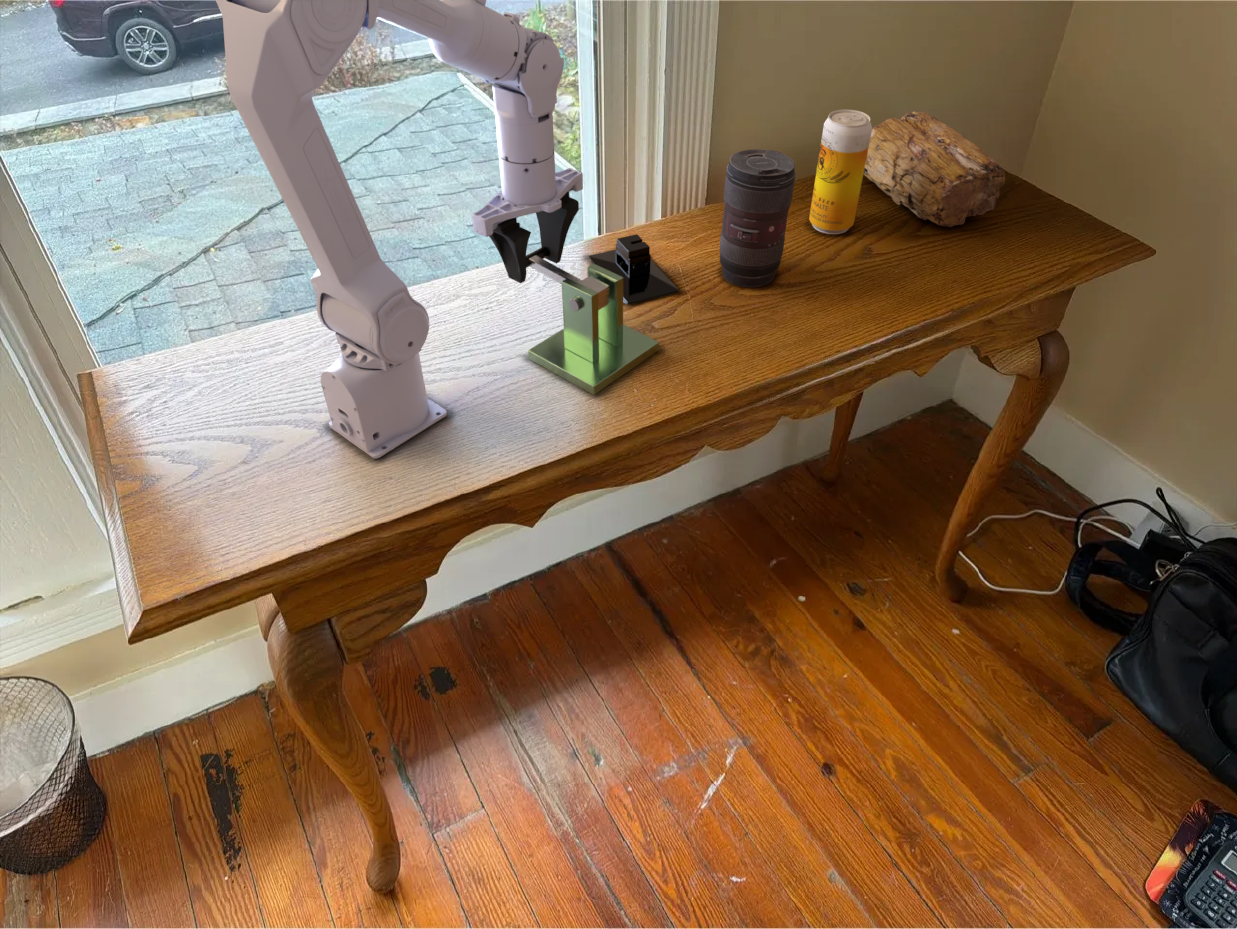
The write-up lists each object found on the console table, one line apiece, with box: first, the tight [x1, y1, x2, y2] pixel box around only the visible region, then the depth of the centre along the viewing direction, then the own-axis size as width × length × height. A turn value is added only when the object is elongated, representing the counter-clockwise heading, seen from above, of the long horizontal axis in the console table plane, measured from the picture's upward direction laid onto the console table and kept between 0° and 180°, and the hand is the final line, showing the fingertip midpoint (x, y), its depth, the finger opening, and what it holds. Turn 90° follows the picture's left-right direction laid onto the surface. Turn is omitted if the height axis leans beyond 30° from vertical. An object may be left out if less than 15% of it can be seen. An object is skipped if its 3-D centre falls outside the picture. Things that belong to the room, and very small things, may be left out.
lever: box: [526, 246, 609, 310], centre depth 99 cm, size 12×5×2 cm, turn 49°
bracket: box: [527, 263, 660, 396], centre depth 99 cm, size 10×11×10 cm
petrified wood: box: [863, 110, 1006, 228], centre depth 127 cm, size 19×13×10 cm
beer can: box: [808, 108, 873, 235], centre depth 120 cm, size 6×6×15 cm
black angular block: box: [588, 233, 680, 306], centre depth 113 cm, size 12×7×5 cm, turn 25°
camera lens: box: [719, 148, 796, 288], centre depth 110 cm, size 8×8×15 cm
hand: (534, 269), depth 101 cm, fingers closed on lever, 5 cm apart
